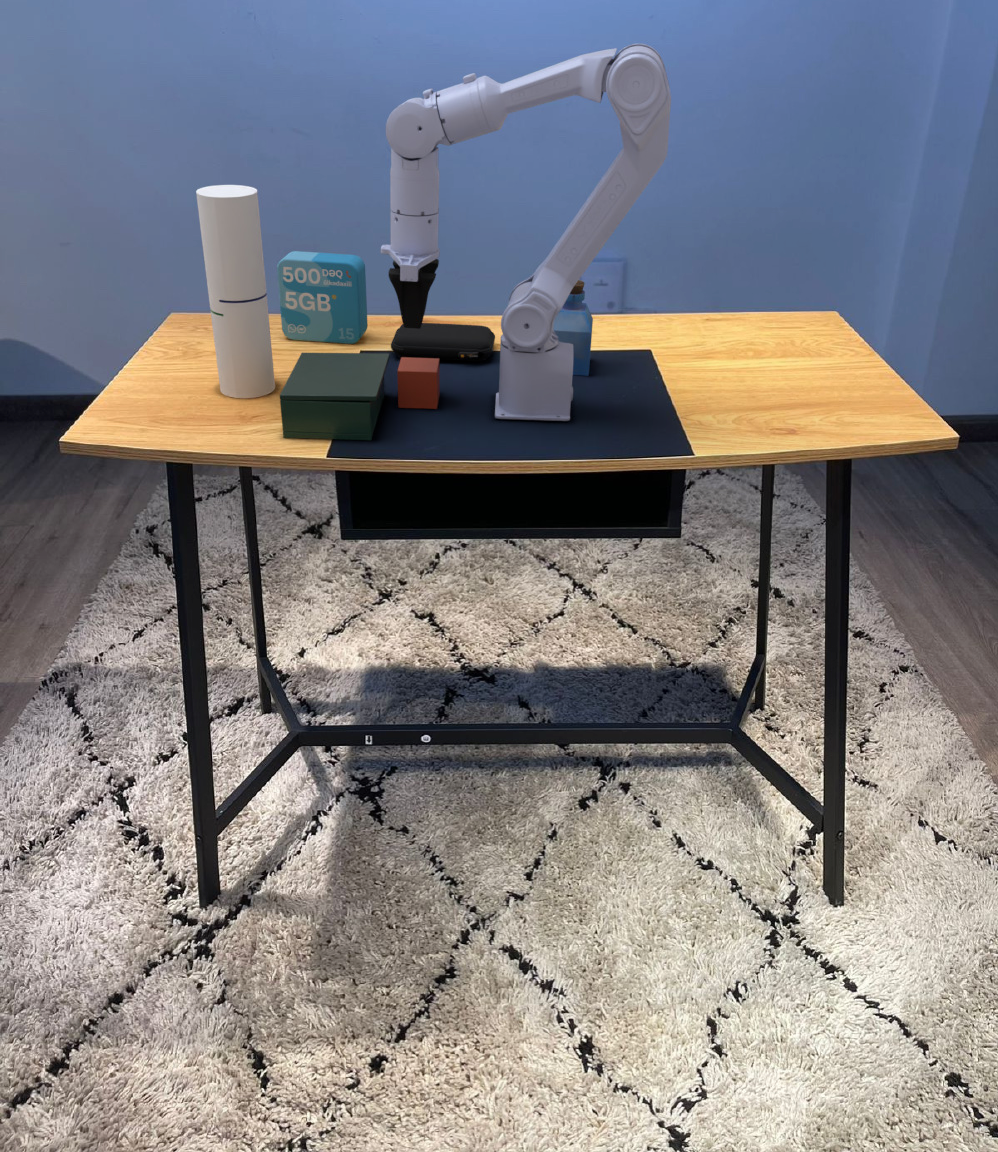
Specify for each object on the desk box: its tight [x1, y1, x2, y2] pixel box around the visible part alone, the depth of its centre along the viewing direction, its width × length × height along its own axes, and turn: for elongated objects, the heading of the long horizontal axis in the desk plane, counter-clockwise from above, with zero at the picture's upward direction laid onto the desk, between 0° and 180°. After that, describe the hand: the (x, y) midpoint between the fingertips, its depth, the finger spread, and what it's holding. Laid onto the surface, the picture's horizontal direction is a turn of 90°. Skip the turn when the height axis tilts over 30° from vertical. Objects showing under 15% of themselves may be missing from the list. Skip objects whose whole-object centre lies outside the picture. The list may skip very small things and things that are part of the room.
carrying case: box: [390, 322, 496, 362], centre depth 148 cm, size 11×3×15 cm
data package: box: [276, 250, 368, 345], centre depth 150 cm, size 12×4×12 cm, turn 82°
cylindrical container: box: [195, 184, 276, 399], centre depth 129 cm, size 7×7×25 cm
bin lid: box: [279, 352, 391, 401], centre depth 126 cm, size 11×15×1 cm
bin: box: [279, 377, 386, 441], centre depth 127 cm, size 11×15×5 cm
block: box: [396, 357, 441, 410], centre depth 132 cm, size 5×5×5 cm
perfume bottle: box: [553, 279, 594, 377], centre depth 143 cm, size 6×6×12 cm
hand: (413, 322), depth 128 cm, fingers open, 3 cm apart
